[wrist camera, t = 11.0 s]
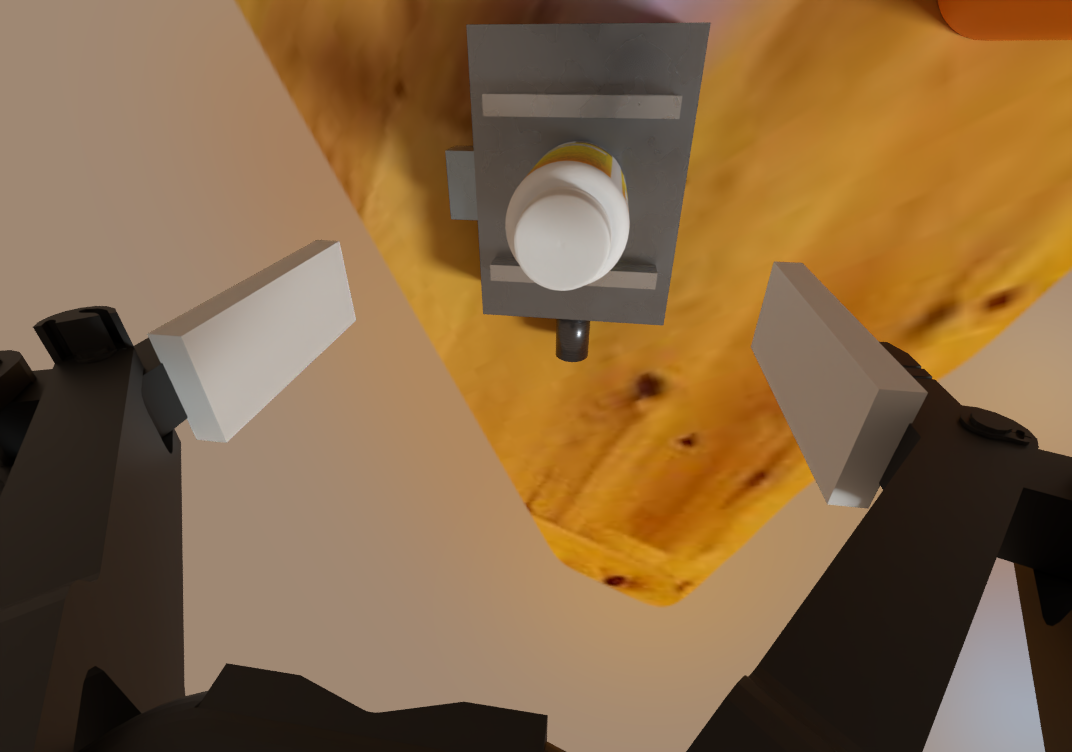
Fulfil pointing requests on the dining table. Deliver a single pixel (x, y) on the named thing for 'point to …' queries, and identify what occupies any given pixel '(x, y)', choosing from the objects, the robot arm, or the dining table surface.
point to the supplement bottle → (569, 217)
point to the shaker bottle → (1009, 19)
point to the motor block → (590, 116)
